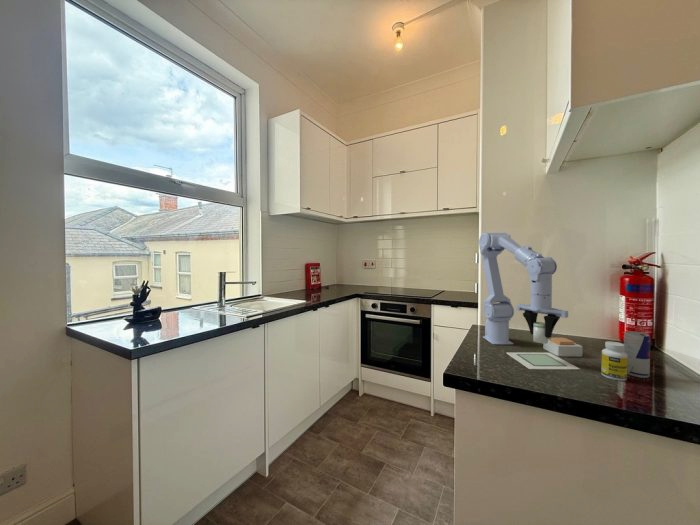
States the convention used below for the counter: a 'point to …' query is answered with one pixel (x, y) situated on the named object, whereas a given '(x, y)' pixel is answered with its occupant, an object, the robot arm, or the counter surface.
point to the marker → (539, 332)
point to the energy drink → (637, 353)
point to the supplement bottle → (614, 361)
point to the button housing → (563, 349)
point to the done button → (562, 341)
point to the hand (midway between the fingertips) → (540, 335)
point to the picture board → (542, 361)
